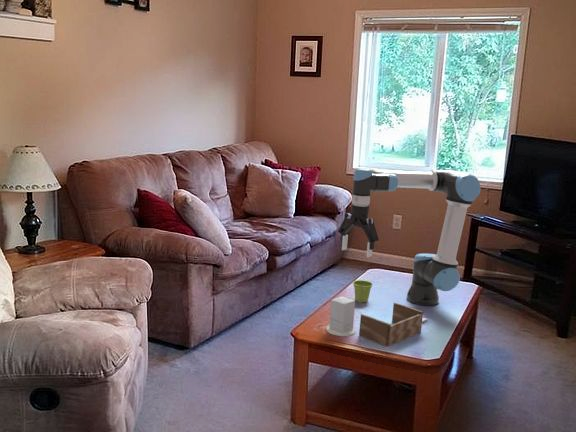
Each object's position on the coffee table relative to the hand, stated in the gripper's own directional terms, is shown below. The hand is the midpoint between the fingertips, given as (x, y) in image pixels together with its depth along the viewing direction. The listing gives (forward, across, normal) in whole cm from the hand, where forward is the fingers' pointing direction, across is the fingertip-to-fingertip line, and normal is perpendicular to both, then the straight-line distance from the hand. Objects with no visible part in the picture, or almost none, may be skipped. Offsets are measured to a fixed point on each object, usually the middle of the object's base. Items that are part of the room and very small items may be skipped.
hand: (356, 253), depth 263 cm
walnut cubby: (+29, +23, -3) cm, 37 cm away
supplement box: (+28, +8, -17) cm, 34 cm away
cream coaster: (+29, +8, -17) cm, 34 cm away
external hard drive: (+29, +19, +19) cm, 40 cm away
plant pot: (+29, -10, +20) cm, 37 cm away
